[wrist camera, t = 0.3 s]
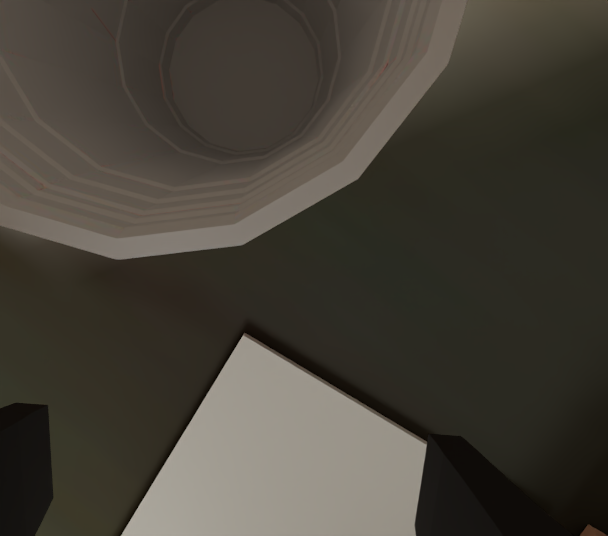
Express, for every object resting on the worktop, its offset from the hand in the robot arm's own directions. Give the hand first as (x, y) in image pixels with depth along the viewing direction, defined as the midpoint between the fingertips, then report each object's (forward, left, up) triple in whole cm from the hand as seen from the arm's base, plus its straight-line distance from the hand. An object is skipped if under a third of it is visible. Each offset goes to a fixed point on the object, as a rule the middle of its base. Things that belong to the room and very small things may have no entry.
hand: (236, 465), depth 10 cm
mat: (-8, -6, -11) cm, 14 cm away
